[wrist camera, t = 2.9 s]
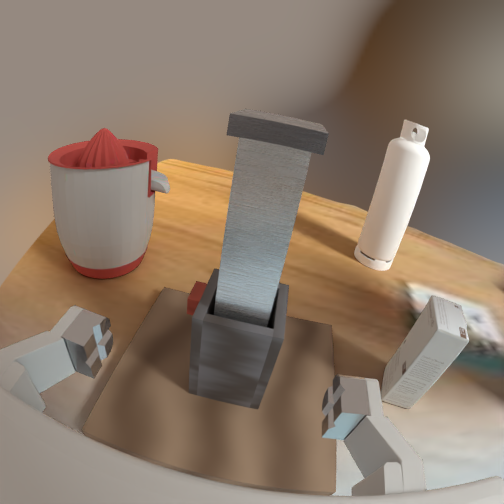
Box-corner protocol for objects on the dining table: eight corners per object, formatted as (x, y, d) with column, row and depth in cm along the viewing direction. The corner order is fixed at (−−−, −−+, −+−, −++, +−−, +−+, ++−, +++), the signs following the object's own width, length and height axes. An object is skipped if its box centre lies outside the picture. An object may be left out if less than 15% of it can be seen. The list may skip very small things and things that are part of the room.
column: (259, 359, 31) (321, 124, 19) (252, 399, 26) (328, 133, 15) (211, 348, 31) (246, 108, 20) (197, 386, 27) (230, 113, 15)
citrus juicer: (161, 295, 40) (168, 142, 30) (45, 284, 36) (25, 142, 26) (170, 237, 53) (179, 122, 43) (78, 231, 49) (74, 120, 39)
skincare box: (383, 366, 35) (429, 291, 29) (413, 375, 34) (461, 303, 27) (379, 403, 30) (434, 326, 24) (411, 412, 28) (471, 339, 22)
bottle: (358, 266, 56) (405, 119, 42) (350, 245, 63) (389, 114, 49) (395, 273, 56) (445, 135, 42) (384, 252, 63) (425, 128, 49)
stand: (327, 333, 39) (358, 259, 33) (329, 496, 20) (397, 445, 14) (164, 296, 40) (166, 216, 34) (85, 436, 21) (44, 359, 15)
